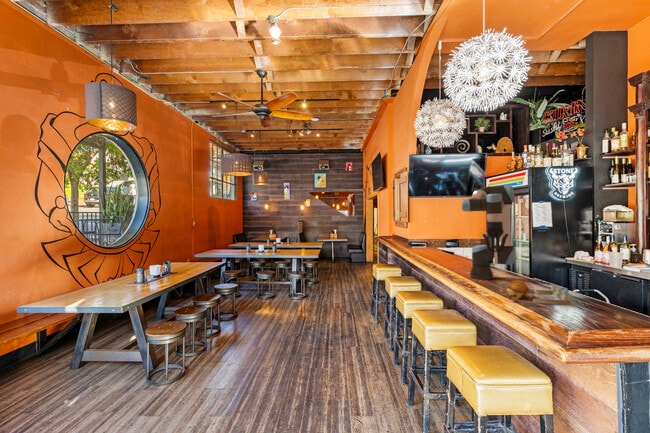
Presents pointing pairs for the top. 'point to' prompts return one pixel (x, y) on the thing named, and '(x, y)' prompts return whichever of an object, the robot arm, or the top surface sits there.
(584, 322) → the top surface
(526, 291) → the cheeseburger
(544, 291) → the lane
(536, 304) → the mat
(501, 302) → the top surface
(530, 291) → the mat
